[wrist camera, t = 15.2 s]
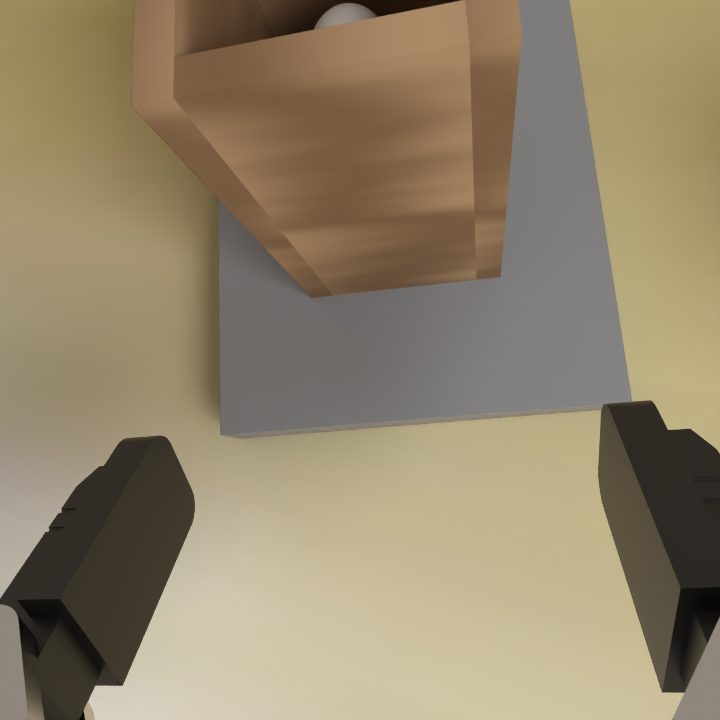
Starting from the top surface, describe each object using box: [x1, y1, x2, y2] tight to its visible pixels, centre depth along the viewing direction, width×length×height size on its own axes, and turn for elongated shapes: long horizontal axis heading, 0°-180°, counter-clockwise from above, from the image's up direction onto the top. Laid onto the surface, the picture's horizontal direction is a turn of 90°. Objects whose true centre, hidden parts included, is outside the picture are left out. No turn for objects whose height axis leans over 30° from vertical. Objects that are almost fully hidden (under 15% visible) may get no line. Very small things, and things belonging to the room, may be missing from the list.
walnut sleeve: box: [131, 0, 522, 298], centre depth 14 cm, size 6×6×10 cm
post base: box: [218, 0, 632, 438], centre depth 16 cm, size 12×14×9 cm
